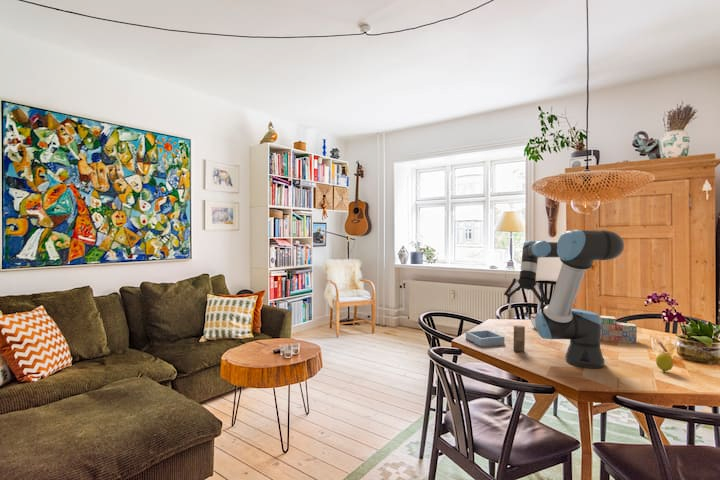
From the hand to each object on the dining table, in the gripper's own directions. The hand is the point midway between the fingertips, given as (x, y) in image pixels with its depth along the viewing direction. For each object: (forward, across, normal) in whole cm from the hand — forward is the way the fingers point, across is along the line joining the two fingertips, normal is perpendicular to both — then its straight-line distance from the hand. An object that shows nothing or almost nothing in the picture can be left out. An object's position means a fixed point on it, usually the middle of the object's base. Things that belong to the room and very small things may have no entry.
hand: (523, 312), depth 192 cm
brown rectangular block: (+19, 0, +1) cm, 19 cm away
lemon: (+15, -54, +16) cm, 59 cm away
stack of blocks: (+4, -51, -31) cm, 59 cm away
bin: (+18, +16, -10) cm, 26 cm away
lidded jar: (+4, -18, -46) cm, 50 cm away
